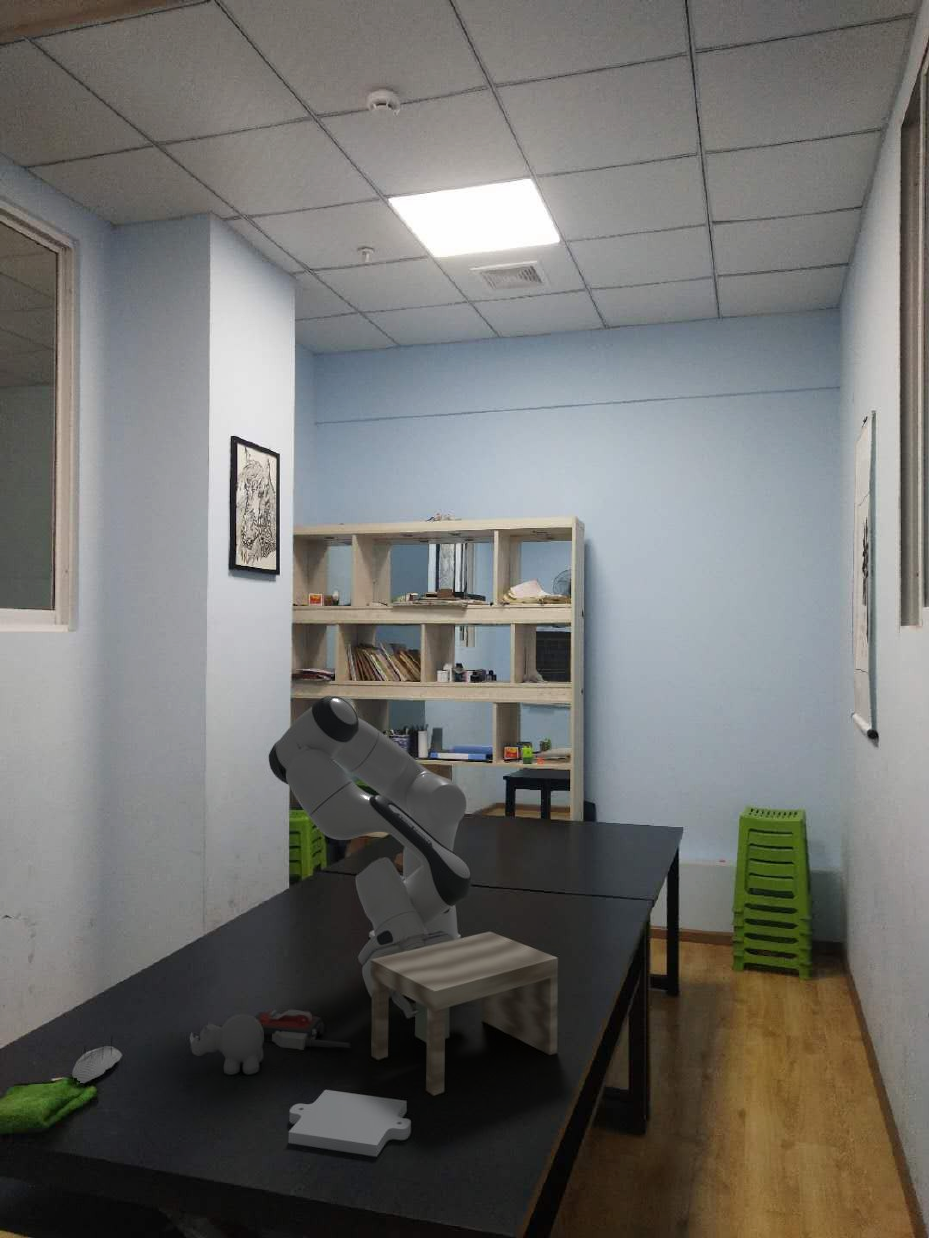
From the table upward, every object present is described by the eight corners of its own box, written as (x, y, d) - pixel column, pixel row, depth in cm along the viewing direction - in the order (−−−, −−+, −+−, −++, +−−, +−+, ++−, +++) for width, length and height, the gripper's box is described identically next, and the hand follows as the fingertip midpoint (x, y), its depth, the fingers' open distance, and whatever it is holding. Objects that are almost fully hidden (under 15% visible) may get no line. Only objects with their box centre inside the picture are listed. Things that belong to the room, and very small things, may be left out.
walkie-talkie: (236, 1045, 168) (348, 1056, 164) (236, 1019, 168) (348, 1030, 164) (256, 1025, 177) (363, 1035, 173) (257, 1001, 177) (363, 1010, 173)
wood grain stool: (369, 1055, 164) (370, 959, 164) (489, 1018, 180) (489, 931, 180) (433, 1096, 150) (434, 991, 150) (556, 1052, 166) (557, 957, 166)
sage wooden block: (415, 1035, 172) (415, 990, 172) (435, 1029, 175) (436, 984, 175) (428, 1043, 169) (429, 996, 169) (449, 1037, 172) (449, 991, 172)
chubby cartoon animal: (196, 1057, 162) (197, 1005, 163) (268, 1059, 162) (269, 1007, 162) (182, 1077, 155) (183, 1023, 155) (258, 1079, 155) (258, 1024, 155)
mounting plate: (422, 1116, 144) (422, 1103, 144) (394, 1162, 132) (394, 1147, 132) (309, 1100, 149) (309, 1087, 149) (271, 1143, 136) (272, 1129, 136)
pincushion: (97, 1090, 151) (97, 1053, 151) (59, 1087, 152) (60, 1050, 152) (132, 1056, 163) (132, 1022, 163) (97, 1054, 164) (98, 1020, 164)
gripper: (441, 937, 187) (472, 1004, 180) (349, 959, 175) (379, 1032, 167) (455, 919, 184) (488, 987, 176) (363, 940, 171) (394, 1014, 163)
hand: (434, 1009), depth 171 cm, fingers open, 8 cm apart
